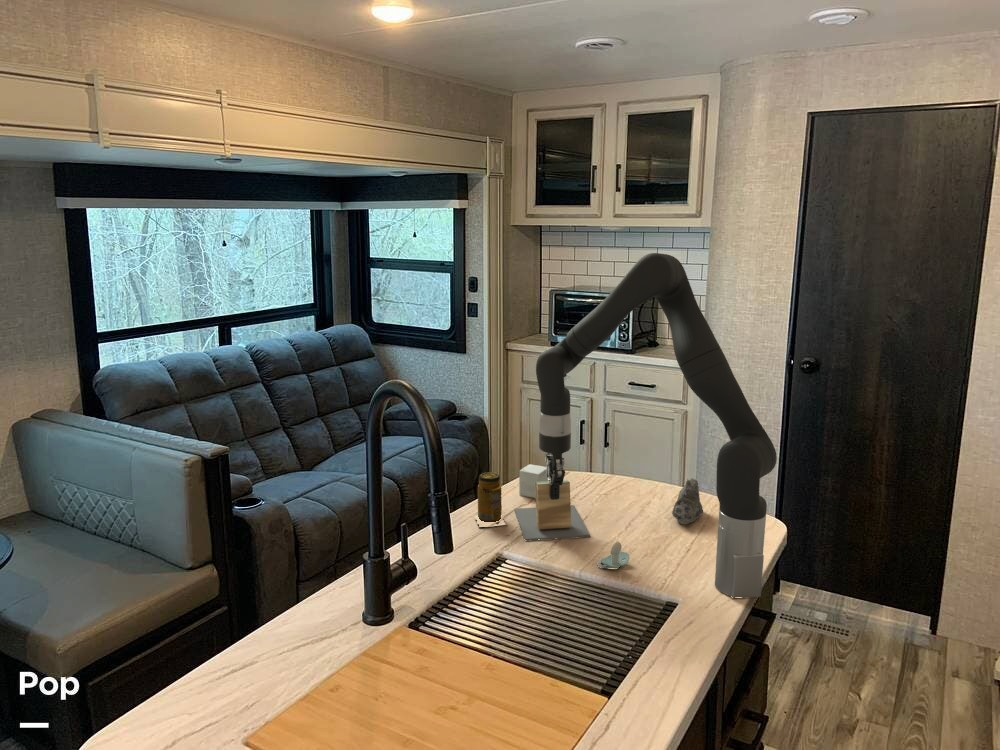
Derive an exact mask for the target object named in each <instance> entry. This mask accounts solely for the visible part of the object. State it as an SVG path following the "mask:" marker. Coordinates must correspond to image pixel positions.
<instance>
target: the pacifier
mask: <svg viewBox="0 0 1000 750" xmlns="http://www.w3.org/2000/svg"><path fill="white" fill-rule="evenodd" d="M629 561H630V555H629V554H628V553H627V552H625V551H622V543H621V542H620V541H616V542H614V544H613V545H612V546H611V549H610V555H607V556H605V557H603V558H600V559H599V560H598V561H597V563H596V566H597V565H598V566H599V567H601V568H600V569H602V568H618V569H620V568H621V567H623V566H625V565H627V563H629ZM601 563H602V564H601ZM598 566H597V567H598ZM620 566H621V567H620ZM599 567H598V568H599ZM619 567H620V568H619Z"/></svg>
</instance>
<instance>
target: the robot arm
mask: <svg viewBox="0 0 1000 750" xmlns="http://www.w3.org/2000/svg"><path fill="white" fill-rule="evenodd" d="M653 298H655V300H656V301H657V303H658V304H659V305H660V308H661V309H662V311H663V313H664V315H665V317H666V319H667V321H668V325H669V327H670V328H669V329H670V331H671V332H670V334H671V340H672V346H673V351H674V356H675V359H676V363H677V365H678V366H679V368H680V370H681V373H682V375H683V377H684V379H685V381H686V383H687V385H688V386H689V388H690V389H691V391H692V392H693V393H694V395H696V396H697V398H699V399H700V400H701V401H702V403H704V404H705V405H706V406H707V407H708V408H710V410H711V411H712V412H713V413H714V414H716V416H717V418H718V419H719V420H720V421H721V423H722V425H723V427H724V429H725V431H726V433H727V436H728V438H729V441H727V442H725V443H724V444H722V446H721V448H720V449H719V451H718V455H717V460H716V487H715V488H716V489H715V490H716V497H717V501H718V503H719V511H718V524H717V538H716V540H717V542H716V543H717V544H716V558H715V575H714V577H715V578H714V586H715V588H716V589H717V590H718V591H719V590H720V591H721V593H722V592H723V593H722V594H724V593H726V594H728V595H727V596H729V595H731V596H732V597H733V598H735V597H749V598H759V597H762V595H761V594H762V585H763V584H762V583H763V572H764V560H765V558H764V557H765V556H764V549H765V546H764V545H765V534H766V521H767V510H768V509H767V508H768V505H767V504H768V503H767V501H766V499H765V498H764V497H763V496H762V495H760V483H761V482H760V481H761V478H762V477H764V476H766V475H769V474H770V473H771V472H772V471H773V470H774V469H775V467H776V464H777V460H778V459H777V457H778V456H777V451H776V448H775V446H774V443H773V441H772V439H771V437H770V436H769V434H768V433H767V432H766V430H765V428H764V426H762V424H761V422H760V421H759V419H758V418H757V416H756V415H755V413H754V411H753V410H752V408H751V406H750V404H749V402H748V401H747V398H746V397H745V394H744V392H743V390H742V388H741V387H740V384H739V382H738V380H737V378H736V376H735V375H734V372H733V371H732V368H731V366H730V364H729V362H728V360H727V357H726V356H725V353H724V352H723V349H722V347H721V346H720V344H719V342H718V340H717V339H716V337H715V335H714V332H713V330H712V329H711V327H710V325H709V322H708V321H707V320H706V317H705V316H704V314H703V312H702V311H701V309H700V307H699V304H698V302H697V299H696V297H695V295H694V291H693V289H692V286H691V283H690V280H689V278H688V275H687V272H686V270H685V267H684V266H683V264H682V263H681V261H680V260H679V259H678V258H677V257H675V256H673V255H671V254H667V253H659V252H651V253H646V254H645V255H643V256H641V257H640V258H639V259H638V260H637V261H636V262H635V264H633V266H632V267H631V268H630V269H629V271H628V272H627V273H626V275H625V276H624V277H622V280H620V282H619V283H618V284H617V285H616V286H615V288H614V289H613V290H612V291H611V292H610V293H608V295H606V297H605V298H604V299H603V300H602V301H601V302H600V303H599V304H598V305H597V306H595V308H593V309H592V310H591V311H590V312H589V313H588V314H587V315H585V316H584V317H583V318H582V319H581V320H580V321H578V323H577V324H575V325H574V326H573V327H572V328H571V329H570V330H569V331H568V332H567V334H566V336H565V337H564V338H563V339H561V340H560V342H558V343H557V344H555V345H554V346H553V347H551V348H549V349H546V350H544V351H542V352H541V353H540V354H539V355H538V357H537V359H536V363H535V374H536V381H537V385H538V389H539V393H540V407H539V408H540V412H539V413H540V414H539V422H538V423H539V425H538V427H539V428H538V429H539V430H538V444H539V445H538V448H539V450H540V451H542V452H543V453H545V454H544V461H545V467H546V471H547V477H548V481H549V496H550V498H551V500H556V499H559V490H560V485H562V483H563V480H565V475H566V470H565V469H564V466H565V458H564V457H563V454H564V453H566V452H569V451H570V450H571V447H572V445H571V444H572V440H571V439H572V419H571V394H570V393H571V392H570V389H568V388H567V387H566V386H565V385H566V384H565V376H566V375H567V374H569V373H570V372H572V371H573V370H574V369H575V368H576V367H577V366H578V365H579V364H580V363H581V362H582V361H583V360H584V359H585V358H586V357H587V356H588V355H589V354H591V353H592V352H594V351H595V350H597V348H598V347H600V346H601V345H602V344H604V343H605V342H606V341H607V340H608V339H609V338H610V337H611V336H612V335H613V334H614V332H615V331H616V330H617V329H618V328H619V326H620V325H621V324H622V322H623V321H624V319H625V318H626V317H627V316H628V315H629V314H630V313H632V312H633V311H634V310H635V309H636V308H638V307H639V306H641V305H643V304H644V303H646V302H647V301H649V300H650V299H653ZM720 591H719V592H720ZM726 594H725V595H726ZM749 598H748V599H749Z"/></svg>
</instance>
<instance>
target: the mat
mask: <svg viewBox="0 0 1000 750" xmlns="http://www.w3.org/2000/svg"><path fill="white" fill-rule="evenodd" d="M513 511H514V514H515V517H516V519H517V522H519V523H518V526H519V525H520V526H519V528H521V529H520V531H522V532H521V535H522V536H524V537H523V539H525V540H536V541H542V540H541V539H551V540H556V539H555V538H558V539H557V540H560V539H559V538H566V539H577V538H576V537H582V538H591V534H590V532H589V530H588V528H587V527H586V525H585V523H584V521H583V519H582V517H581V515H580V514H579V512H578V510H577V508H576V506H575V505H573V504H571V527H568V528H553V529H539V528H538V527H537V518H536V506H535V507H523V508H522V507H521V508H514V509H513ZM538 539H540V540H538ZM525 540H524V541H525Z"/></svg>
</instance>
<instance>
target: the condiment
mask: <svg viewBox="0 0 1000 750" xmlns="http://www.w3.org/2000/svg"><path fill="white" fill-rule="evenodd" d="M500 478H501V477H500V474H498V473H496V472H492V471H490V472H483V473H480V475H479V476H478V485H477V514H478V517H479V519H480V520H481V521H484V522H496V521H499V520H500V519H501V515H502V507H503V506H502V485H501V481H500Z"/></svg>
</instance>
